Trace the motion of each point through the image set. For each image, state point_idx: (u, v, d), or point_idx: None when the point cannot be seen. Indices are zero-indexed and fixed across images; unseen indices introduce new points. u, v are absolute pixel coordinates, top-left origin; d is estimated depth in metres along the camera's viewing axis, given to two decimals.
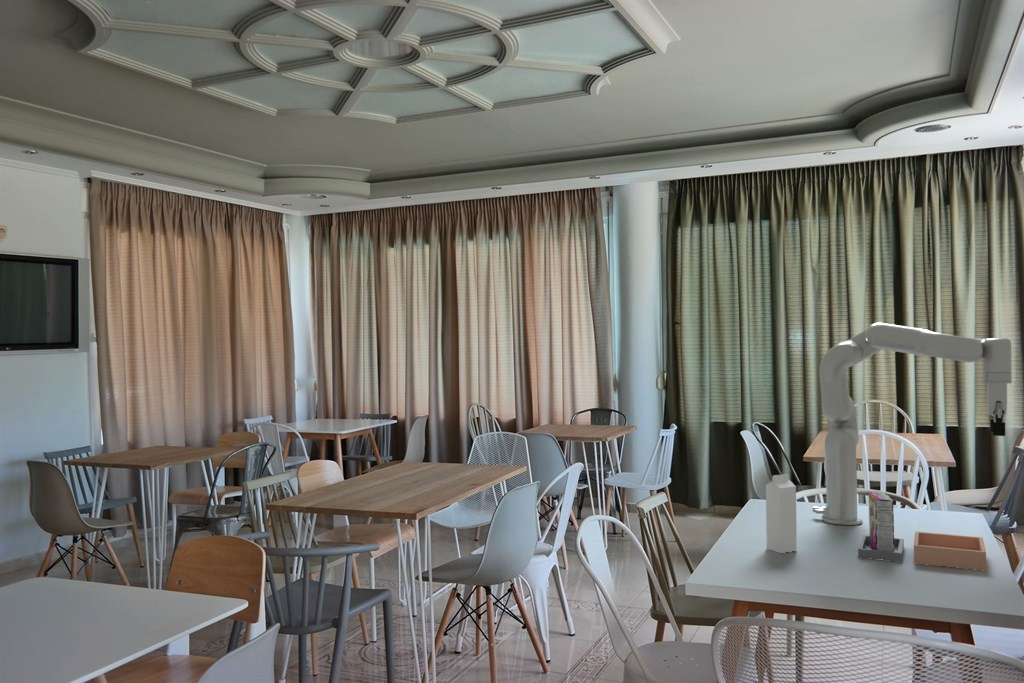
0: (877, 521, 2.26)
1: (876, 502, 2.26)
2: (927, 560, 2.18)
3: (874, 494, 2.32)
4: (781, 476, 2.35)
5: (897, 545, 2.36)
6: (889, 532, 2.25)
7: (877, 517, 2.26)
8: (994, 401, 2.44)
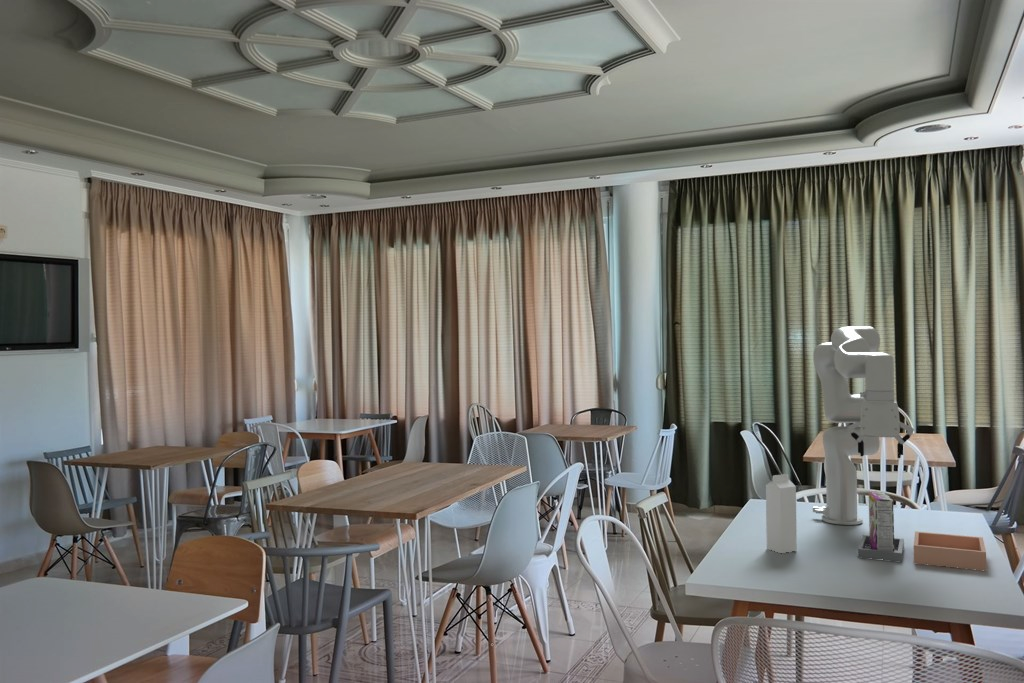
0: (877, 521, 2.26)
1: (876, 502, 2.26)
2: (927, 560, 2.18)
3: (874, 494, 2.32)
4: (781, 476, 2.35)
5: (897, 545, 2.36)
6: (889, 532, 2.25)
7: (877, 517, 2.26)
8: (899, 421, 2.27)
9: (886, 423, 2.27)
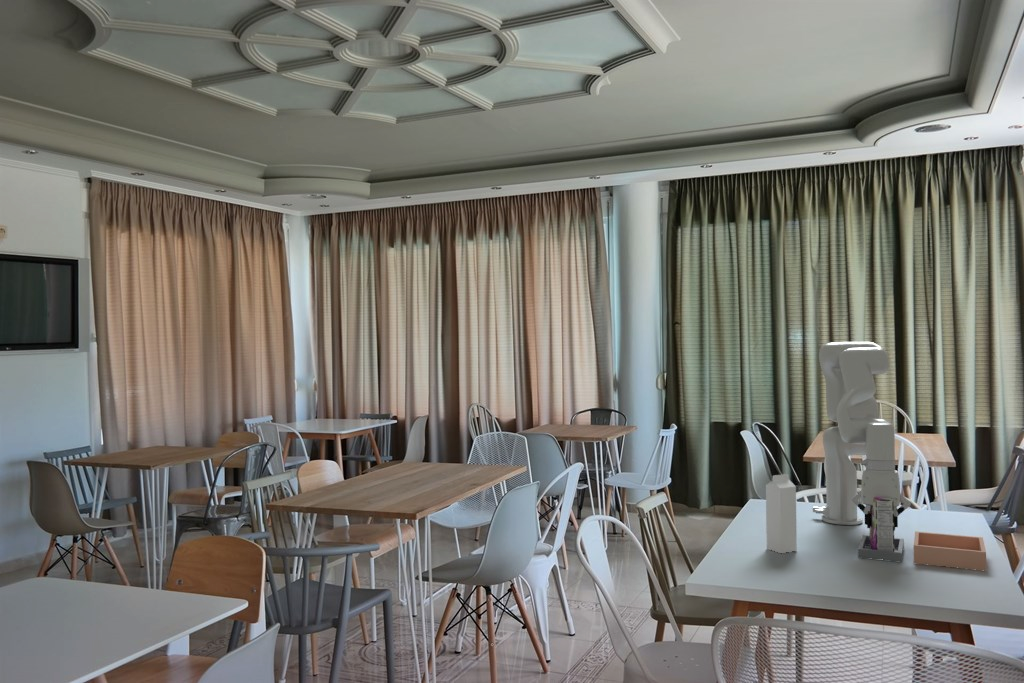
0: (877, 521, 2.26)
1: (876, 502, 2.26)
2: (927, 560, 2.18)
3: None
4: (781, 476, 2.35)
5: (897, 545, 2.36)
6: (889, 532, 2.25)
7: (877, 517, 2.26)
8: None
9: (887, 493, 2.27)
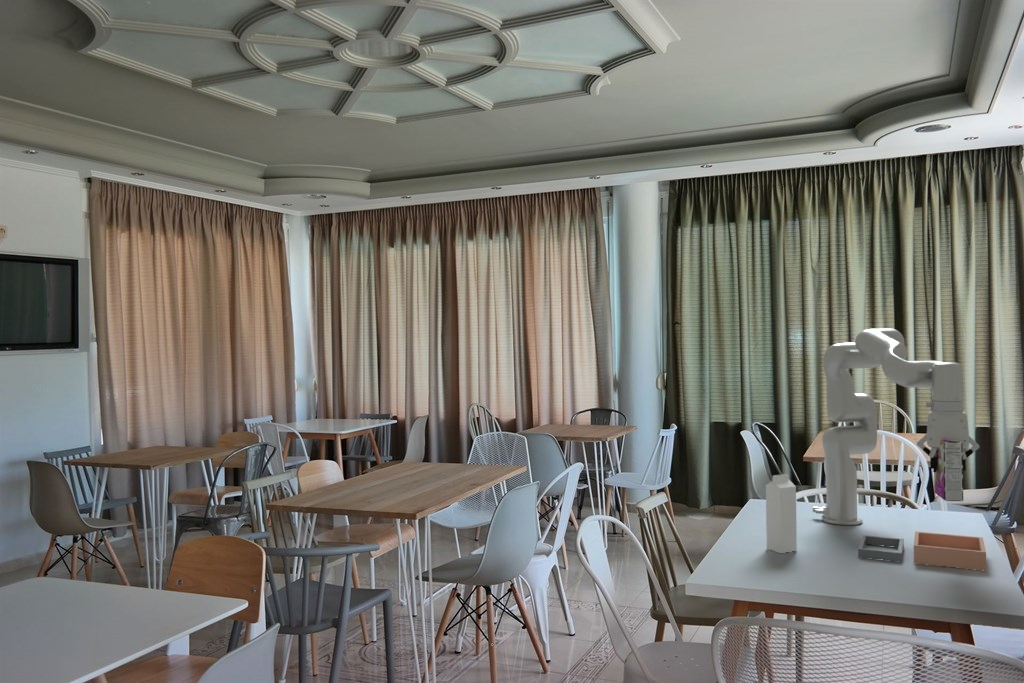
0: (945, 463, 2.18)
1: (944, 444, 2.18)
2: (927, 560, 2.18)
3: None
4: (781, 476, 2.35)
5: (897, 545, 2.36)
6: (958, 475, 2.17)
7: (945, 459, 2.18)
8: (968, 432, 2.19)
9: (955, 434, 2.19)
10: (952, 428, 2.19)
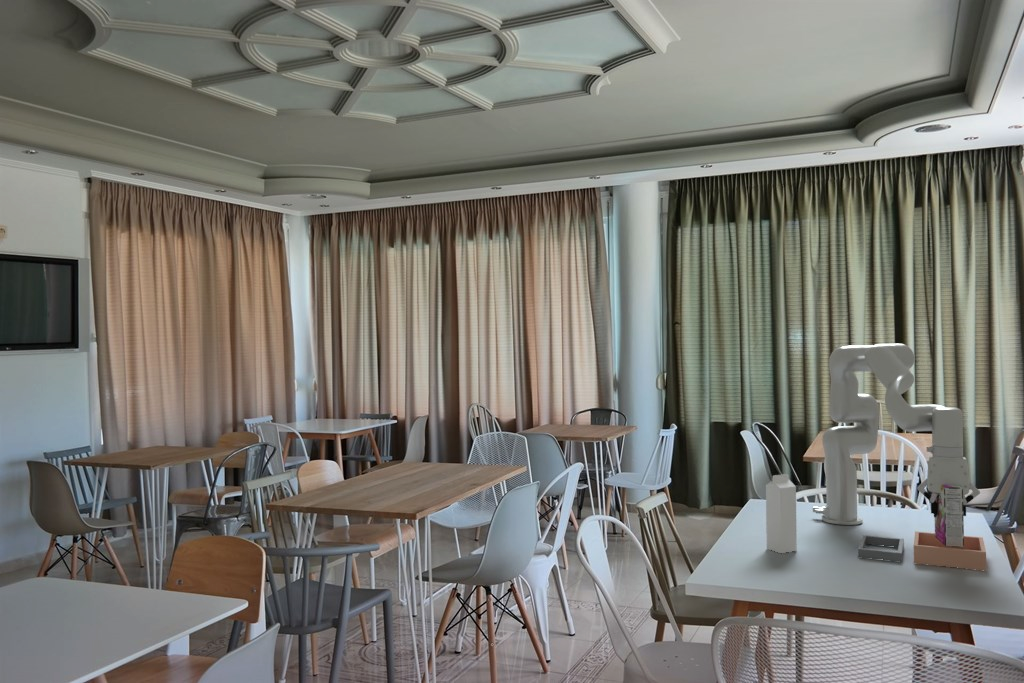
0: (946, 509, 2.18)
1: (945, 490, 2.18)
2: (927, 560, 2.18)
3: None
4: (781, 476, 2.35)
5: (897, 545, 2.36)
6: (958, 521, 2.17)
7: (946, 505, 2.18)
8: None
9: (955, 480, 2.19)
10: (952, 474, 2.20)
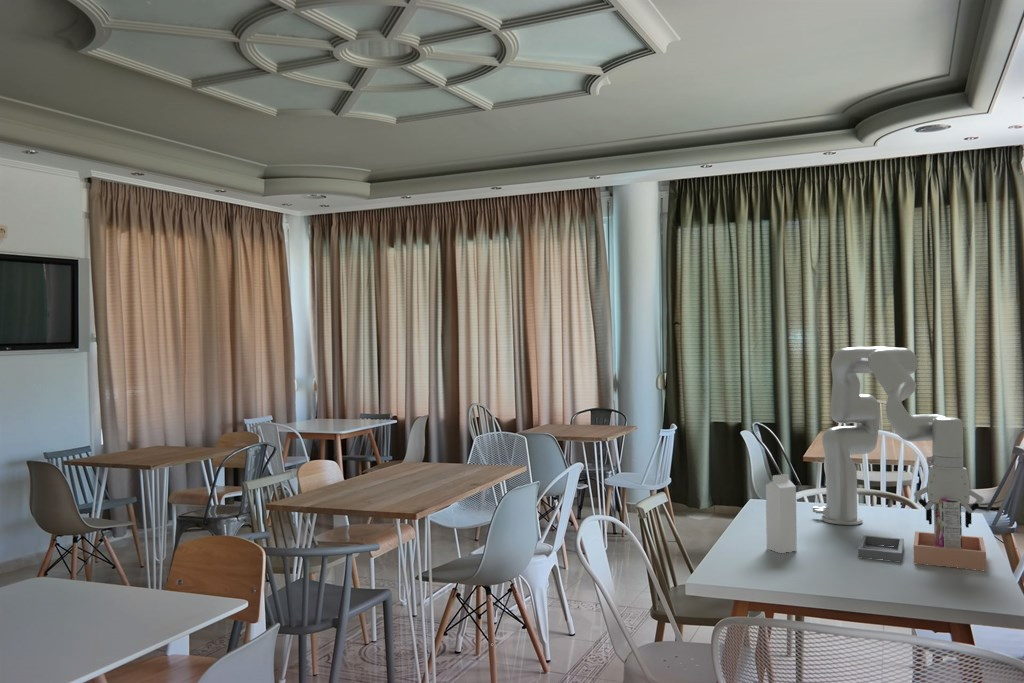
0: (944, 523, 2.18)
1: (943, 503, 2.18)
2: (927, 560, 2.18)
3: None
4: (781, 476, 2.35)
5: (897, 545, 2.36)
6: (956, 534, 2.17)
7: (944, 519, 2.18)
8: None
9: (955, 490, 2.19)
10: (953, 484, 2.20)
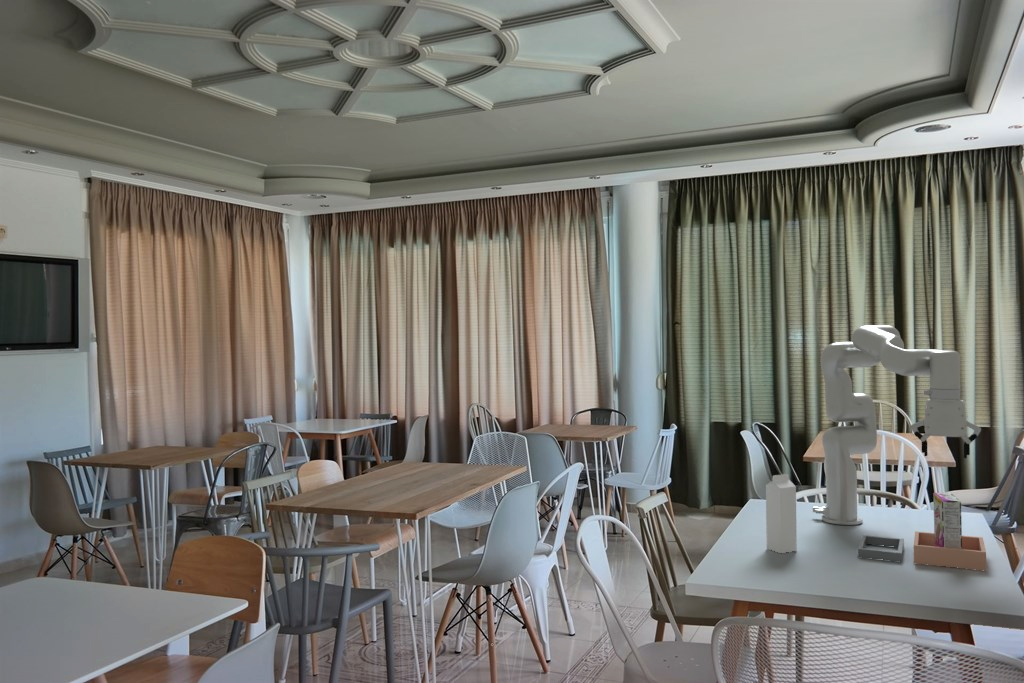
0: (944, 523, 2.18)
1: (943, 503, 2.18)
2: (927, 560, 2.18)
3: (940, 495, 2.25)
4: (781, 476, 2.35)
5: (897, 545, 2.36)
6: (956, 534, 2.17)
7: (944, 519, 2.18)
8: None
9: (952, 422, 2.21)
10: (950, 416, 2.21)
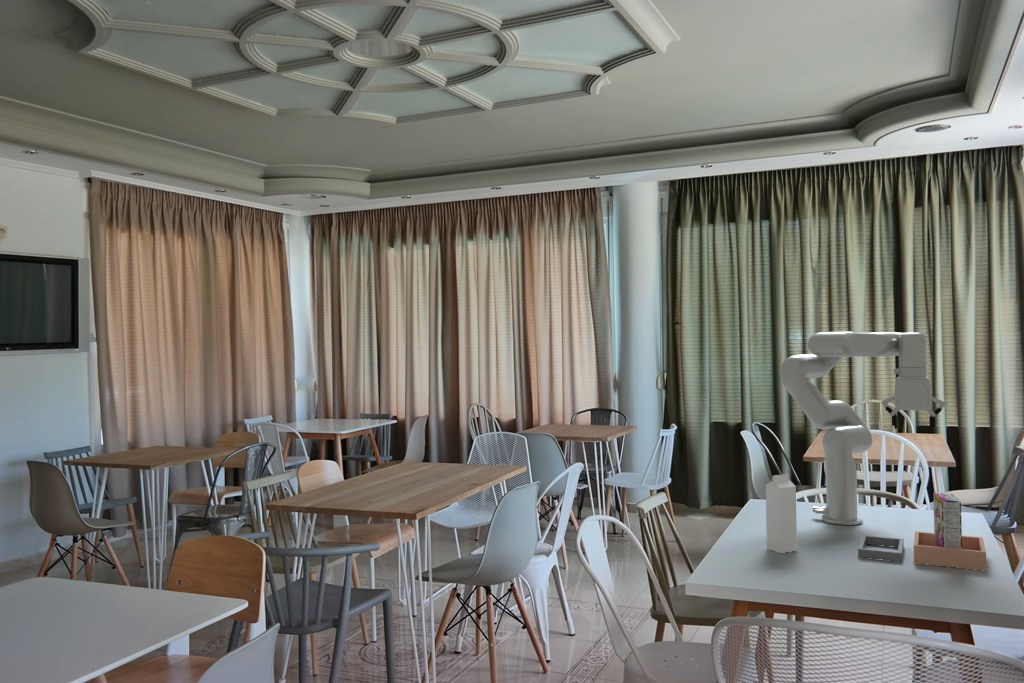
0: (944, 523, 2.18)
1: (943, 503, 2.18)
2: (927, 560, 2.18)
3: (940, 495, 2.25)
4: (781, 476, 2.35)
5: (897, 545, 2.36)
6: (956, 534, 2.17)
7: (944, 519, 2.18)
8: None
9: (919, 397, 2.43)
10: (916, 391, 2.43)
